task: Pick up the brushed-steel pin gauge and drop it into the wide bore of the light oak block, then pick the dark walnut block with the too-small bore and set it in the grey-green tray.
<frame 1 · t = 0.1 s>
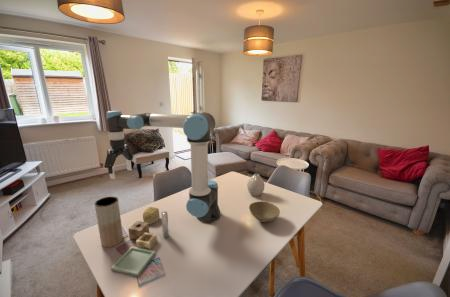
hand: (121, 174, 118), 28 cm above the table, fingers open, 13 cm apart
vase: (255, 194, 155), on the table
bowl: (263, 220, 123), on the table
decorative item: (151, 220, 122), on the table
planter: (112, 240, 104), on the table
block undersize: (139, 235, 108), on the table
tray: (134, 261, 91), on the table
pin gauge: (166, 236, 108), on the table
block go: (147, 244, 102), on the table
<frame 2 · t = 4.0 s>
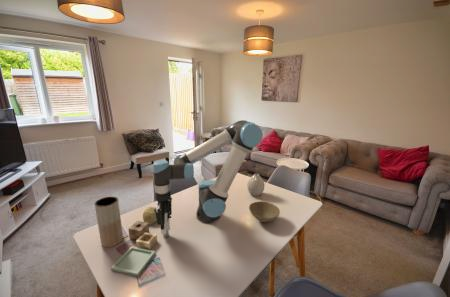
hand: (165, 231, 107), 3 cm above the table, fingers closed on pin gauge, 3 cm apart
pin gauge: (166, 236, 108), on the table, touching gripper
everything else where it was.
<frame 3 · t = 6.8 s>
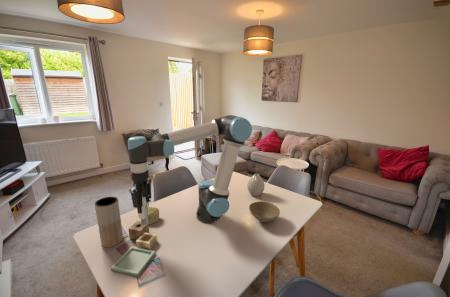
hand: (144, 215, 98), 16 cm above the table, fingers closed on pin gauge, 3 cm apart
pin gauge: (144, 223, 99), point 12 cm above the table, touching gripper
everything else where it was.
when the fingers open (5 cm above the table, at t = 9.4 s): pin gauge stays where it is, resting in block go.
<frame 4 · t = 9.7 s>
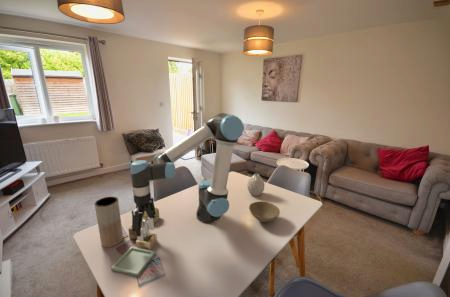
hand: (146, 234, 100), 6 cm above the table, fingers open, 8 cm apart
pin gauge: (147, 244, 102), resting in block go
everything else where it was.
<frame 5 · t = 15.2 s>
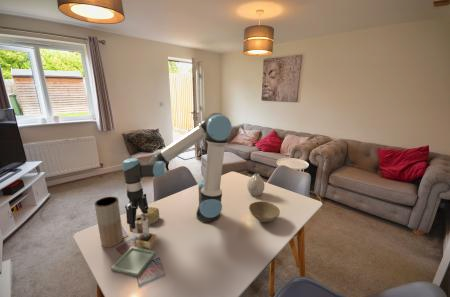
hand: (140, 228, 107), 4 cm above the table, fingers closed on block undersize, 7 cm apart
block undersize: (140, 228, 107), point 4 cm above the table, touching gripper
everything else where it was.
when the fingers open (1 cm above the table, at t = 20.5 s): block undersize stays where it is, resting on tray.
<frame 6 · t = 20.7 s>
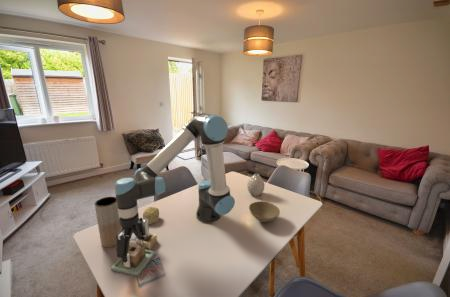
hand: (134, 258, 91), 2 cm above the table, fingers open, 8 cm apart
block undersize: (134, 260, 91), point 1 cm above the table, touching tray
everything else where it was.
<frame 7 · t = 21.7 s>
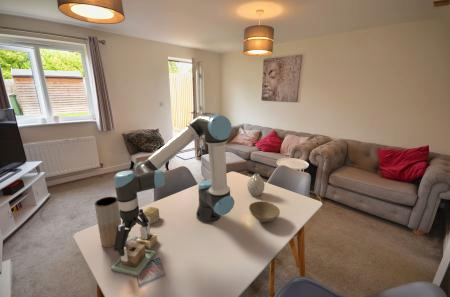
hand: (135, 248, 91), 6 cm above the table, fingers open, 13 cm apart
pin gauge: (147, 244, 102), resting in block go, tilted 7°
everything else where it was.
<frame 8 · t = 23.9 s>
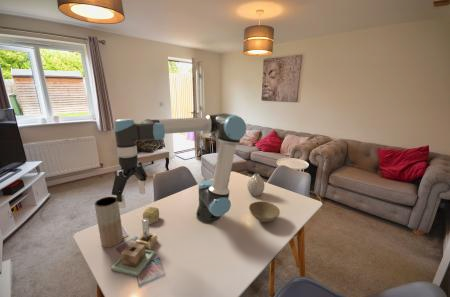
hand: (133, 200, 92), 27 cm above the table, fingers open, 13 cm apart
pin gauge: (147, 244, 102), resting in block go
everything else where it was.
at the end: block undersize inside the target area on the tray (0.1 cm from its centre), point 0.6 cm above the tray's base; pin gauge 0.0 cm off-centre on the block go, point 0.1 cm above the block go's base; the gripper is holding nothing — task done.
